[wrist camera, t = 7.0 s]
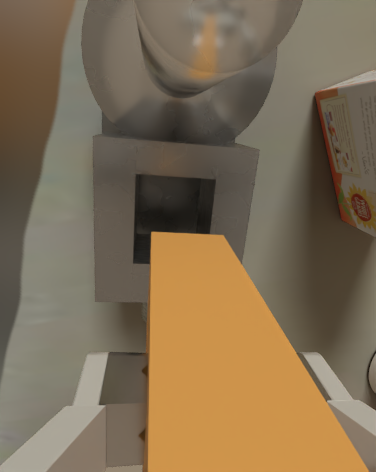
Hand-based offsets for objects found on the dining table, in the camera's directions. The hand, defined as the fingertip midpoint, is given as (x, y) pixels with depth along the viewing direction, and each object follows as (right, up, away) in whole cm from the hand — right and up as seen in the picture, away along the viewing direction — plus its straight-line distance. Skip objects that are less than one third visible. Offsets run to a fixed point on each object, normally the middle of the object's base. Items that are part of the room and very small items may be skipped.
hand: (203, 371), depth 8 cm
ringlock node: (-2, +12, +22) cm, 25 cm away
